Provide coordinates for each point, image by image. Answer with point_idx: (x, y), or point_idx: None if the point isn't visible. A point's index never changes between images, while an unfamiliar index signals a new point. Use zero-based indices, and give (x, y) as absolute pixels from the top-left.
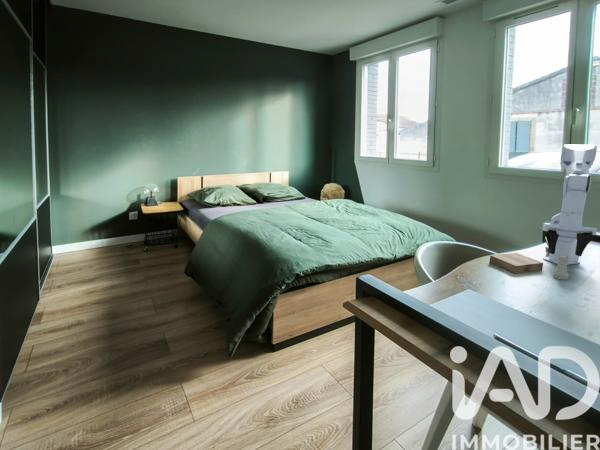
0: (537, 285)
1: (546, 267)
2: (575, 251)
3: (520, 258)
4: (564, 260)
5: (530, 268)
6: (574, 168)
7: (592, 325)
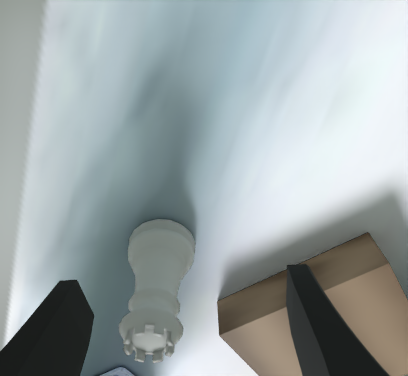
0: (322, 100)
1: (185, 338)
2: (88, 344)
3: None
4: (152, 306)
5: (285, 286)
6: None
7: None
